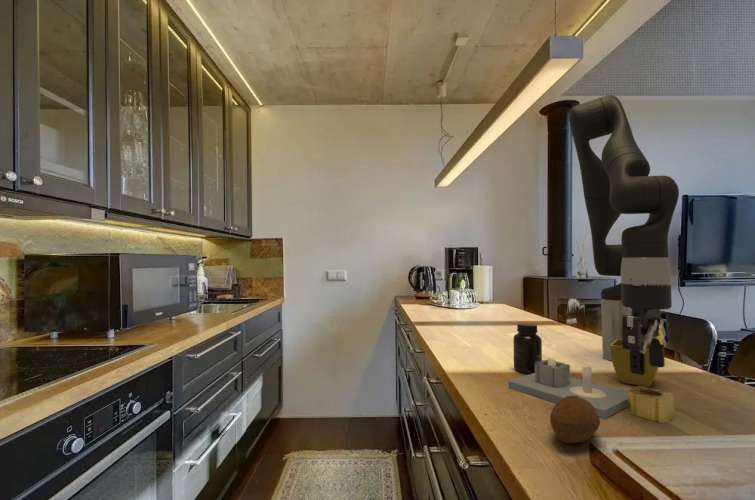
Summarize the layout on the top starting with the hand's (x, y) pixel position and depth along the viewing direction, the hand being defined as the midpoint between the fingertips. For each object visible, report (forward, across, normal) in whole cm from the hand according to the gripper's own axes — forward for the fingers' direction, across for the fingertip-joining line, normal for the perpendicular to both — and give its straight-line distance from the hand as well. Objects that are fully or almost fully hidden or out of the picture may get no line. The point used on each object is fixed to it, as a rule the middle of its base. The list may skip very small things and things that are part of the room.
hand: (647, 369), depth 67 cm
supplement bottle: (+8, -6, -29) cm, 31 cm away
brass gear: (+8, 0, 0) cm, 8 cm away
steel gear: (+7, +2, -18) cm, 19 cm away
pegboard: (+8, +2, -14) cm, 16 cm away
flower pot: (+8, -18, -9) cm, 22 cm away
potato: (+9, +21, -3) cm, 23 cm away
